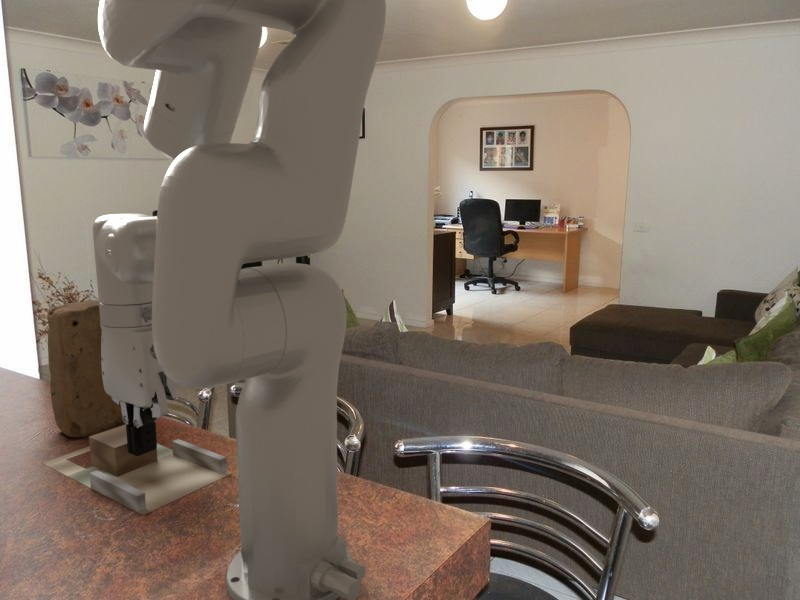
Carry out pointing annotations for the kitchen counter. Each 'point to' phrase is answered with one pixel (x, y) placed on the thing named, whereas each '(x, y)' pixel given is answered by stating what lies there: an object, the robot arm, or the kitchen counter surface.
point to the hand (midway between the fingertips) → (142, 451)
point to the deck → (150, 476)
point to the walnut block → (116, 452)
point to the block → (79, 371)
